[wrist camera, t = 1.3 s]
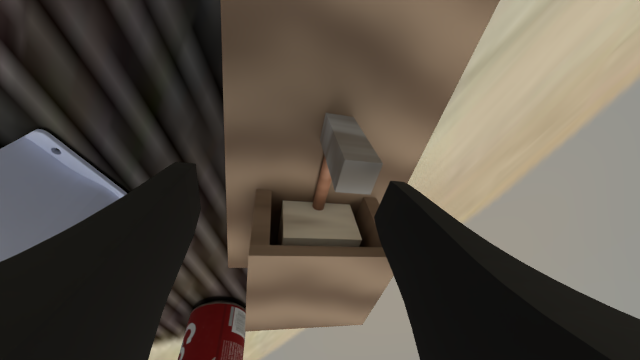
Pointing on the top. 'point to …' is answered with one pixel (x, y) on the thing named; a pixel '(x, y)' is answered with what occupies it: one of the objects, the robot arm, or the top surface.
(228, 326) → the soda can
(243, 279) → the top surface
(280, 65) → the walnut shelf
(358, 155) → the grey handled cream block
